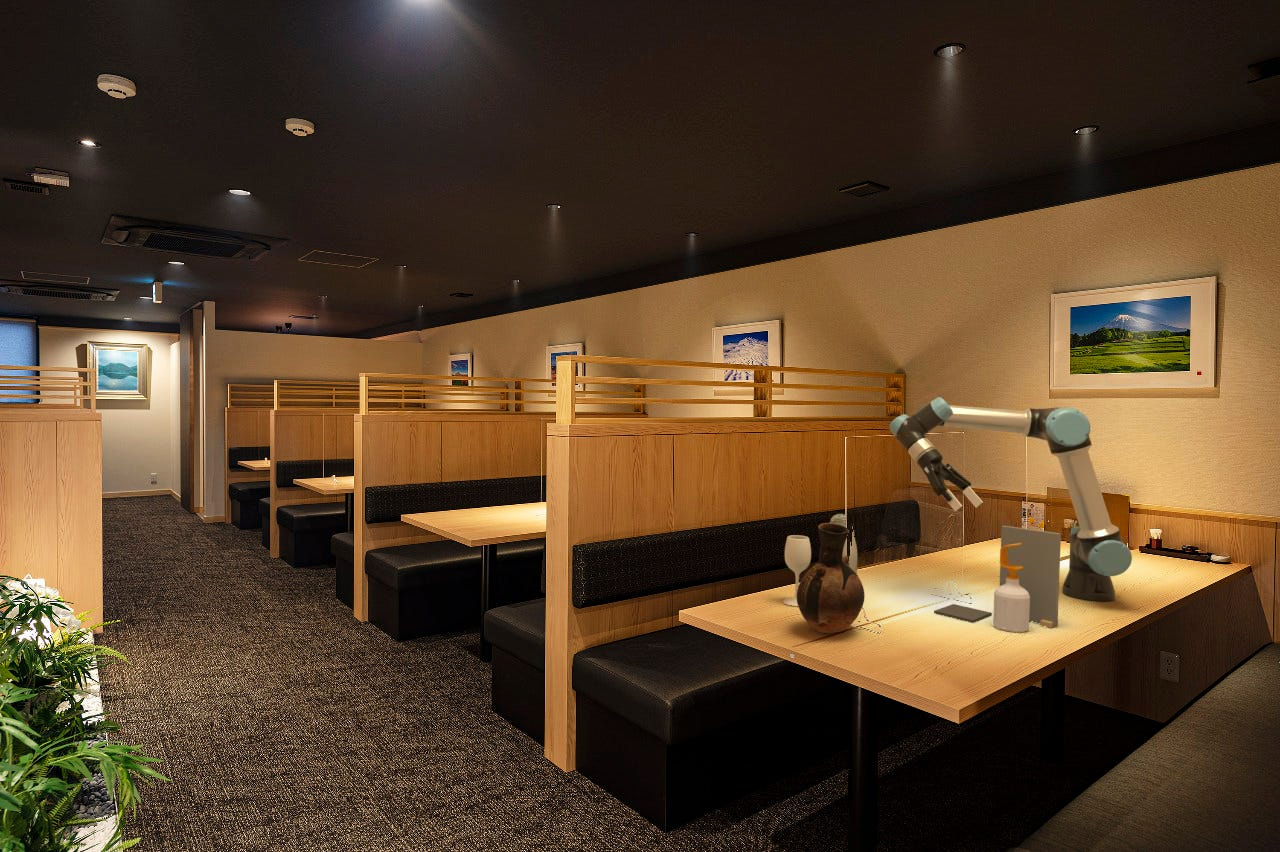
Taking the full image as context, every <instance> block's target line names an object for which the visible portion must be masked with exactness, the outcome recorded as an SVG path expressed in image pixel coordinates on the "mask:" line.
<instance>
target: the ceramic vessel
mask: <svg viewBox="0 0 1280 852" xmlns="http://www.w3.org/2000/svg"><path fill="white" fill-rule="evenodd" d="M817 528H818V529H817V530H818V534H819V535H818V536H819V541H820V547H819V548H818V550H819V553H818V554H819V555H818V561H817V562H816V564H814V565H813V566H812V567H810V569H809V570H808V571H807V572H806V573H805V574H804V575H803V577H802V578H801V580H800V581H799V587H798V590H797V604H798V609H799V611H800V614H801V616H802V617H803V618H804V620H805V621H806V623H807V624H808V625H810V626H811V628H812V629H813V630H814V631H815V632H818V633H827V634H829V633H831V634H832V633H841V632H844V631H846V630H847V629H848V628H849V627H851V625H852V624H853V623H854V622H855V621H856V619H857V618H858V617H859V615H860V613H861V611H862V609H863V606H864V603H865V589H864V586H863V584H862V581H861V578H860V577H859V575H858V574H856V572H855V571H854V570H853V569H852V568H851V567H850V566H849V561H848V557H847V556H844V557H843V548H844V545H845V541H846V539H847V536H848V533H849V530H848V529H847V528H846V527H844V526H842V525H839V524H835V523H830V522H824V523H820V524H819V525H818V526H817Z"/></svg>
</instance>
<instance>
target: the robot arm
mask: <svg viewBox="0 0 1280 852" xmlns="http://www.w3.org/2000/svg"><path fill="white" fill-rule="evenodd" d="M936 427H949V428H959V429H961V428H962V429H972V430H983V431H991V432H992V431H993V432H1002V433H1003V432H1004V433H1014V434H1015V433H1016V434H1021V435H1022V436H1023V437H1025V438H1026V437H1028V438H1034V439H1040V440H1043V441H1046V442H1047V445H1048V447H1049V451H1050V454H1051V455H1052V456H1054V457H1056V458H1057V459H1058V461H1059V464H1060V469H1061V472H1062V474H1063V477H1064V480H1065V484H1066V487H1067V489H1068V493H1069V497H1070V499H1071V503H1072V506H1073V509H1074V513H1075V516H1076V518H1077V521H1078V526H1072V527H1071V529H1070V534H1069V539H1070V540H1069V563H1068V564H1069V567H1068V568H1069V569H1068V571H1067V574H1066V577H1065V579H1064V581H1063V584H1062V593H1063V594H1064V595H1066V596H1069V597H1071V598H1076V599H1080V600H1081V599H1082V600H1087V601H1094V602H1111V601H1114V600H1116V590H1115V587H1114V584H1113V581H1112V578H1111V577H1116V576H1120V575H1122V574H1123V573H1125V572H1126V571H1127V570H1129V568H1130V567H1131V564H1132V561H1133V556H1132V552H1131V549H1130V548H1129V547H1128V545H1127V544H1125V543H1124V541H1123V537H1122V535H1121V530H1120V528H1119V527H1118V526H1116V525H1114V524H1112V522H1111V519H1110V515H1109V512H1108V509H1107V506H1106V503H1105V500H1104V497H1103V494H1102V490H1101V487H1100V484H1099V481H1098V477H1097V475H1096V471H1095V468H1094V465H1093V463H1092V459H1091V456H1090V452H1089V450H1090V449H1091V448H1092V446H1093V445H1092V440H1091V437H1090V434H1091V423H1090V419H1088V416H1086V414H1084V413H1083V412H1082V411H1079V410H1078V409H1075V408H1072V407H1048V408H1046V407H1045V408H1029V407H1027V408H1026V409H1025V410H1018V409H1017V410H1016V409H1004V408H990V407H978V406H977V407H976V406H965V405H952V404H948V402H947V401H946V400H944V398H942V397H940V396H937V397H936V398H935V399H933V400H931V402H925V403H921V404H920V405H919V406H918V407H917V408H916V411H915V413H914V414H913V415H911V416H909V415H908V414H904V413H903V414H901V415H900V416H897V417H896V418H894V419H893V420H892V421H891V422H890V424H889V431H890V432H891V433H892V434H893V436H894V435H909V436H896V437H895V439H896V440H897V441H898V442H899V443H900V445H901V446H902V447H903V448H904V449H905V450H906V452H907V453H908V454H909V455H910V458H911V459H913V460H914V461H915V462H916V464H917V465H918V466H919V467H920V469H921V470H922V472H923V473H924V475H925V476H926V478H927V480H928V482H929V484H930V486H931V488H932V490H933V492H934V494H936V495H937V496H938V497H940V496H941V497H943V499H944V500H945V501H946V503H947V504H948V505H949V506H950V507H951V508H952V509H953V511H954V512H957V511H959V510H960V509H961V508H962V507H963V505H962V504H961V502H960V501H959V500H958V498H957V497H956V496H955V495H954V494H953V493H952V491H951V490H950V489H947V486H946V482H945V481H948V482H950V483H951V484H953V485H954V486H956V487H957V488H959V489H960V490H961V491H962V493H963V495H964V496H965V497H966V498H967V500H969V501H970V503H971V504H972V505H973V507H975V508H979V506H981V505H982V504H983V503H984V501H983V500H982V499H981V498H980V497H979V496H978V494H977V493H975V491H974V489H972V488H971V486H972V483H971V482H970V481H969V480H968V479H967V478H966V477H964V476H963V475H961V473H960V472H958V471H957V470H955V468H954V467H952V466H951V465H950V464H949V463H948V462H947V463H946V464H944V463H943V462H942V461H943V458H944V457H943V455H942V454H941V453H940V452H939V451H938V449H936V448H935V445H933V443H932V442H931V441H930V439H928V438H927V436H926V435H927V434H928V433H930V432H931V431H932V430H933V429H935V428H936Z"/></svg>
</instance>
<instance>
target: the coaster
mask: <svg viewBox="0 0 1280 852" xmlns="http://www.w3.org/2000/svg"><path fill="white" fill-rule="evenodd" d="M934 613H936V614H935V615H940V616H943V615H944V616H943V617H948V618H951V617H952V618H951V619H955V618H956V620H959V619H960V621H963V620H964V621H963V622H967V621H968V623H971V624H974V623H977V622H978V621H981V620H984V619H986V618H988V617H991V616H992V615H993V614H992V613H993V612H991V611H987V610H982V609H977V608H973V607H969V606H964V605H959V604H956V603H951V604H950V605H947V606H943V607H941V608H938V609H936V610H934V611H933V614H934ZM976 621H977V622H976Z"/></svg>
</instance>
